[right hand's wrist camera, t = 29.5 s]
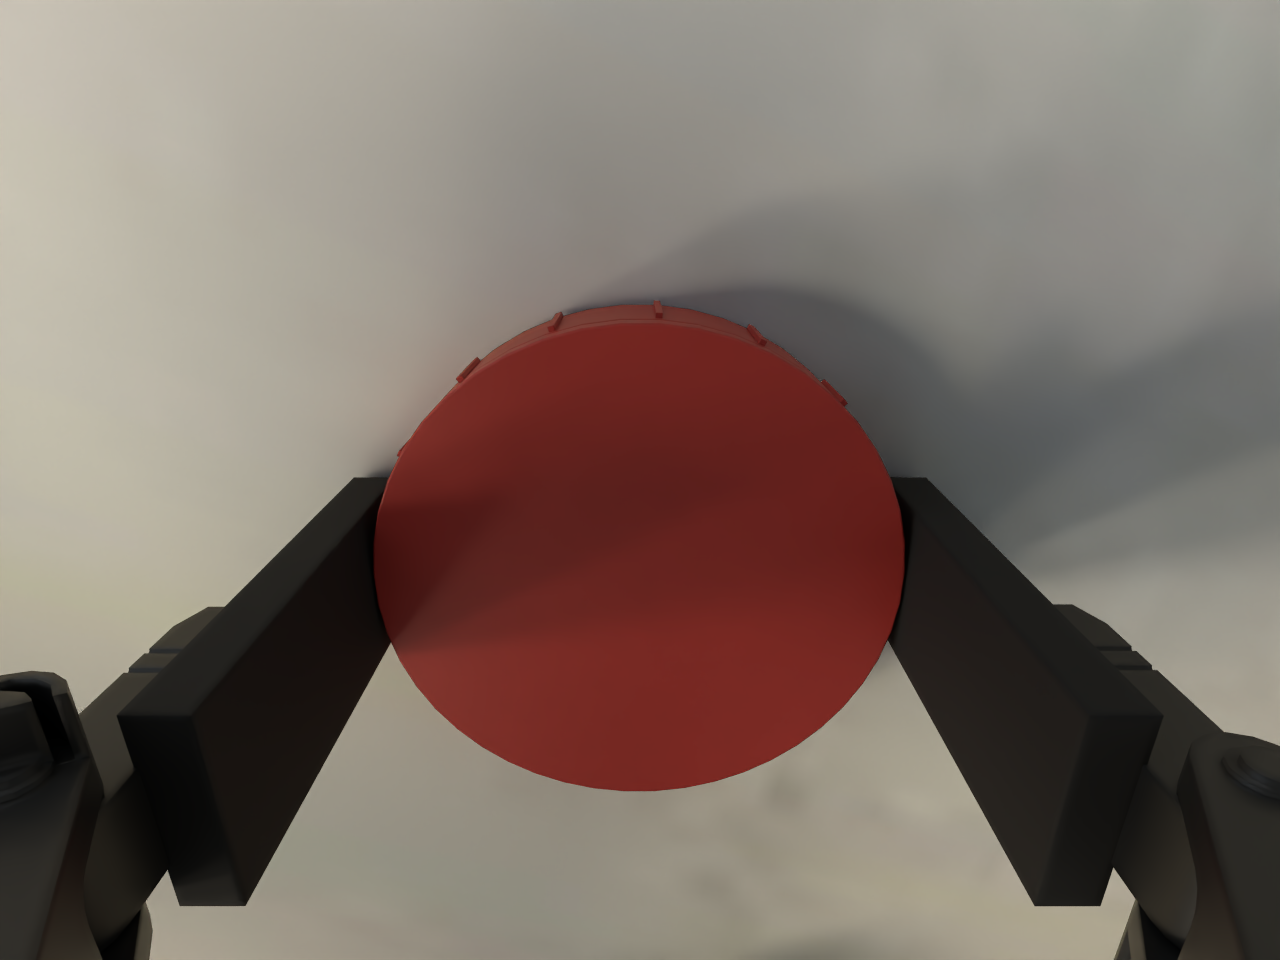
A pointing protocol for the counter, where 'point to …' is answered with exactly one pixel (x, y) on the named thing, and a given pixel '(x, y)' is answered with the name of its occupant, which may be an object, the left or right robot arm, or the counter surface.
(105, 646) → the counter surface
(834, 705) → the lid
